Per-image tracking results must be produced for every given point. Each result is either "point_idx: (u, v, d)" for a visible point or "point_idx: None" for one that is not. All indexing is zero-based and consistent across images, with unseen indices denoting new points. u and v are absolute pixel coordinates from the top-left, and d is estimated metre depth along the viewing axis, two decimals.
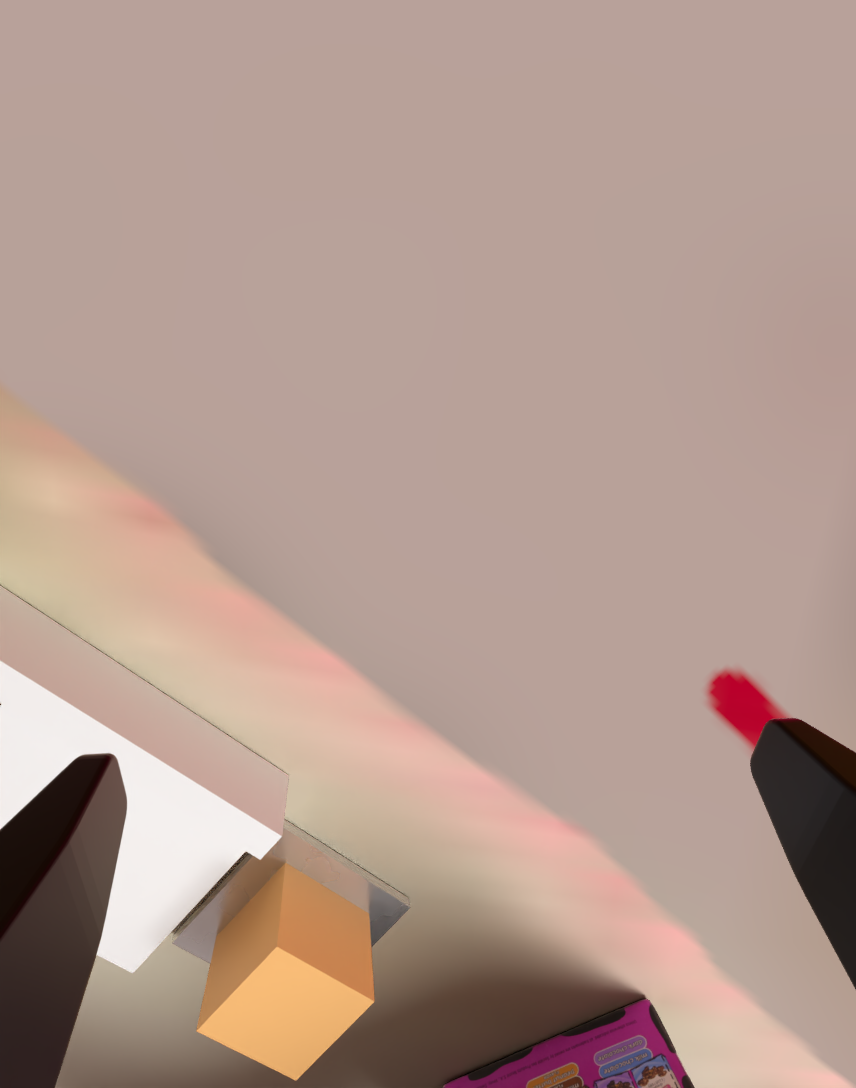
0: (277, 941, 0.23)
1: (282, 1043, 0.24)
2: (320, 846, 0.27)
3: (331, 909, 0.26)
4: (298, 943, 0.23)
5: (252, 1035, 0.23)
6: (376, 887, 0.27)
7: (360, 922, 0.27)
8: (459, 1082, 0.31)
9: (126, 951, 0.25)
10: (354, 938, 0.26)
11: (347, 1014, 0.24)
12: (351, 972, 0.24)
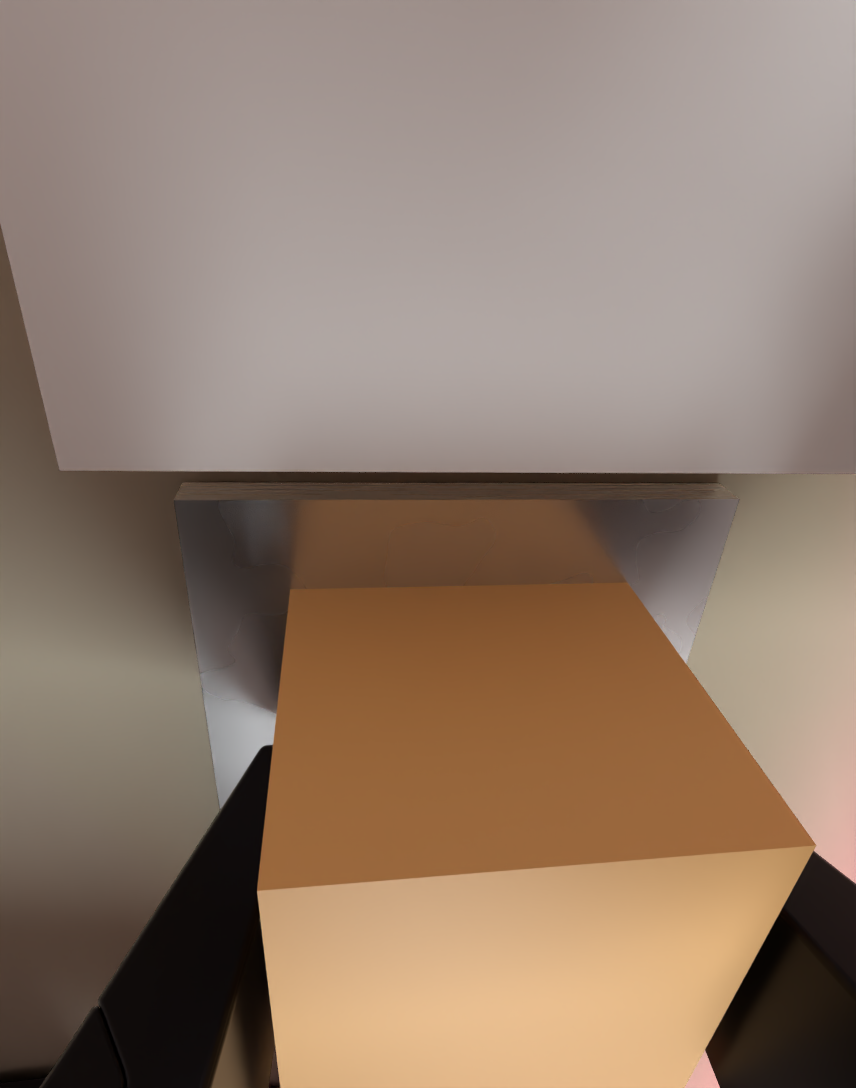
0: None
1: (401, 1064, 0.06)
2: (692, 616, 0.10)
3: None
4: None
5: (374, 1005, 0.06)
6: None
7: None
8: None
9: (135, 380, 0.05)
10: None
11: None
12: None
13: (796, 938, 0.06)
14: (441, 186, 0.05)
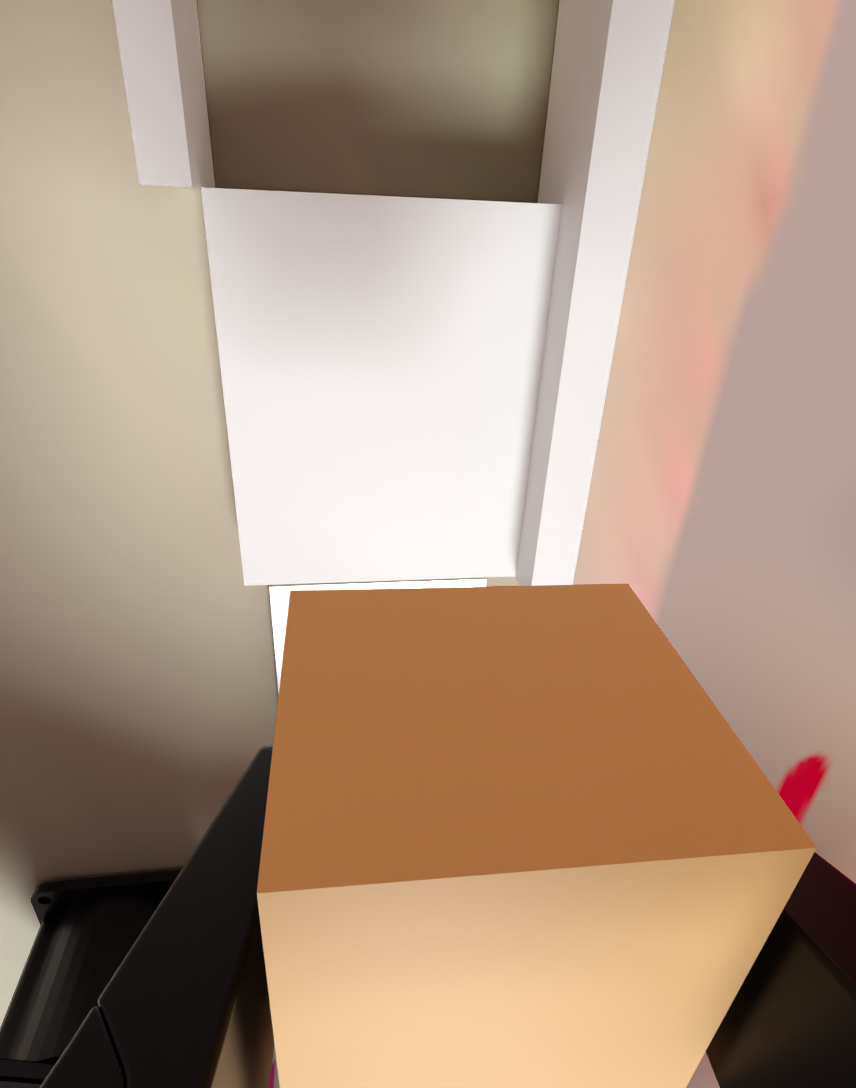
0: None
1: (400, 1066, 0.06)
2: None
3: None
4: None
5: (374, 1007, 0.06)
6: None
7: None
8: None
9: (268, 560, 0.18)
10: None
11: None
12: None
13: (796, 938, 0.06)
14: (354, 510, 0.18)
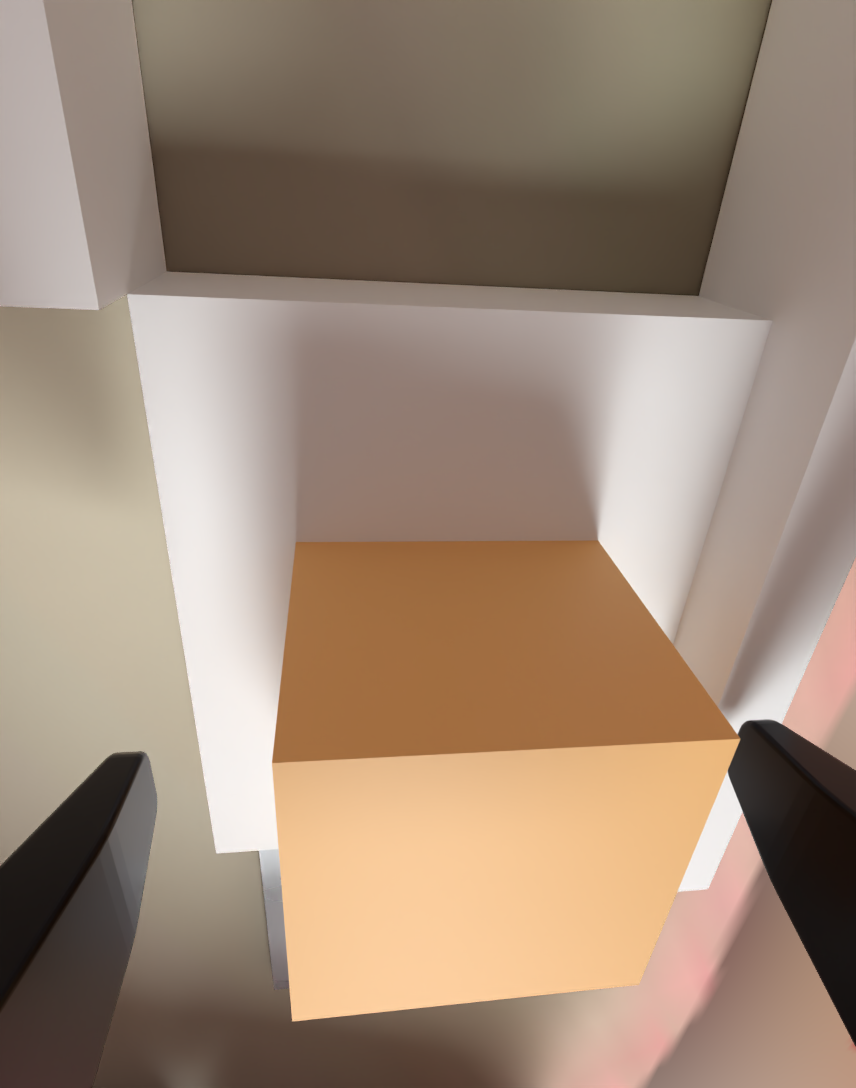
0: (729, 723, 0.07)
1: (391, 940, 0.07)
2: None
3: None
4: None
5: (369, 880, 0.07)
6: None
7: None
8: None
9: (253, 822, 0.12)
10: None
11: (570, 975, 0.08)
12: None
13: None
14: None
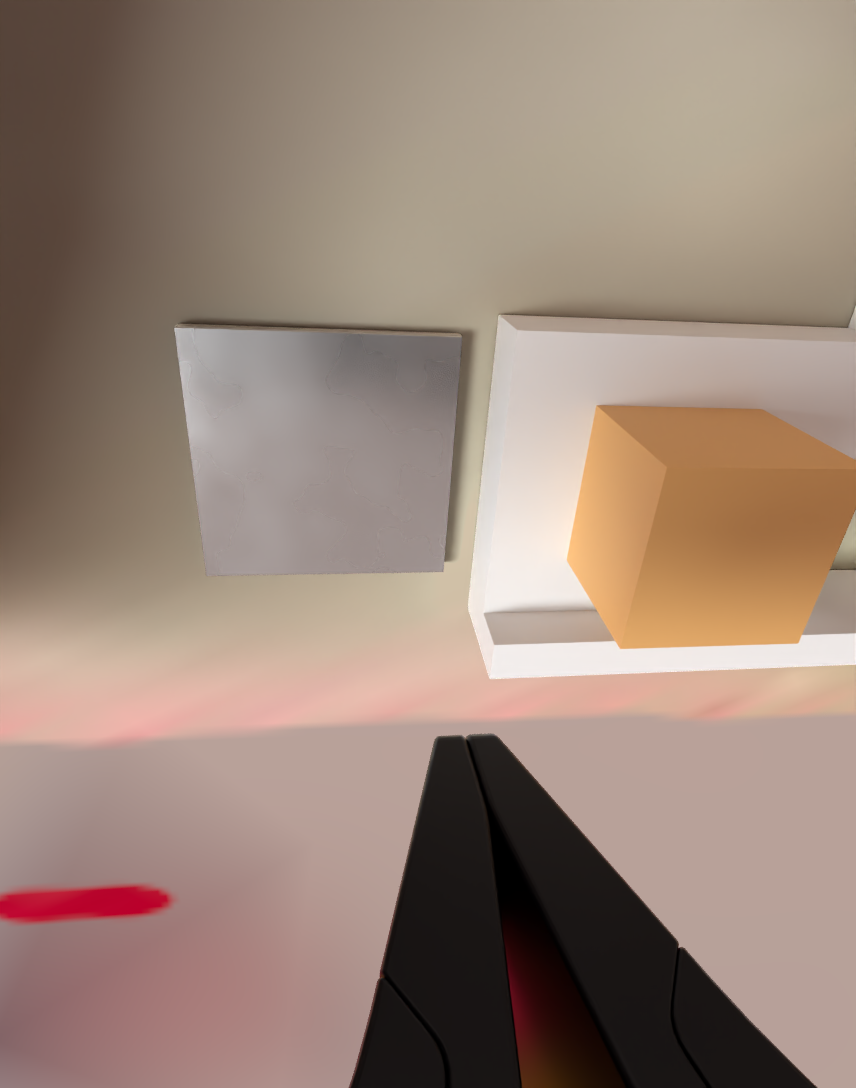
0: (792, 637, 0.16)
1: (724, 520, 0.13)
2: (377, 569, 0.20)
3: None
4: None
5: (779, 508, 0.13)
6: (271, 571, 0.19)
7: None
8: None
9: (545, 363, 0.15)
10: None
11: (646, 612, 0.14)
12: None
13: (563, 962, 0.06)
14: None
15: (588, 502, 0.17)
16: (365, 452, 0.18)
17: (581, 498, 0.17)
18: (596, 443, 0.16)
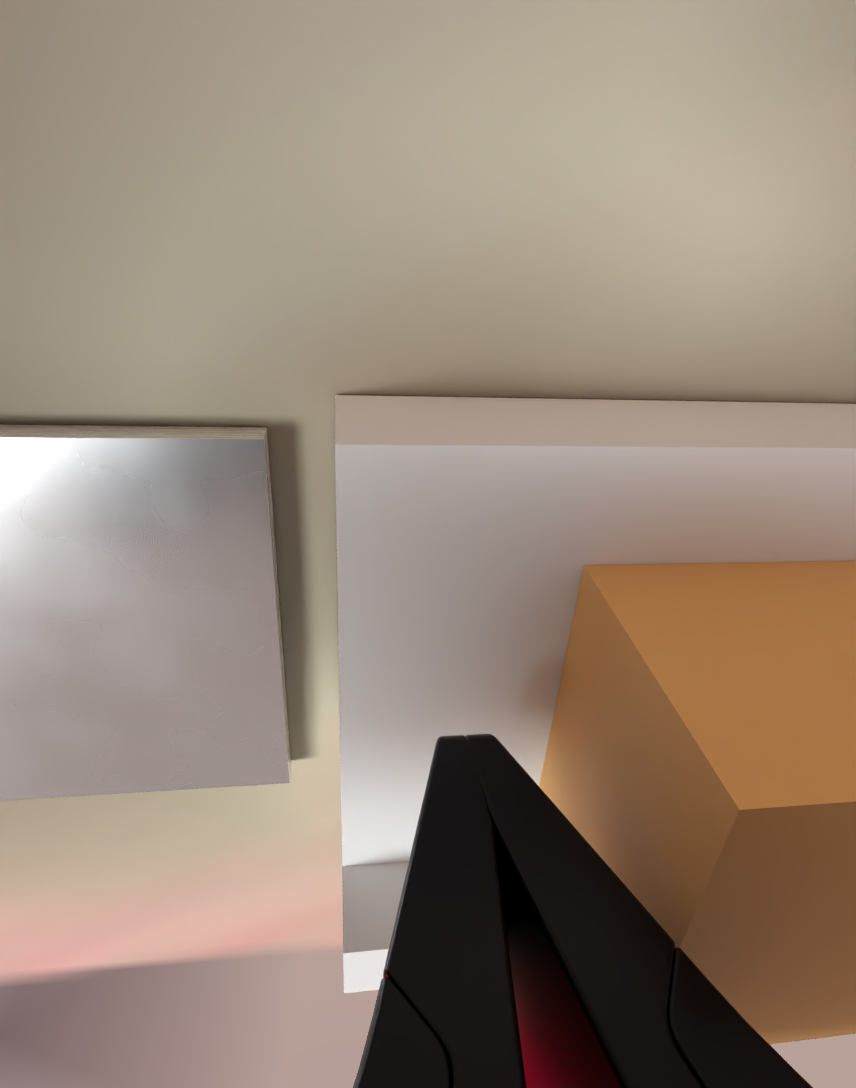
0: None
1: (853, 879, 0.06)
2: (183, 780, 0.12)
3: None
4: None
5: None
6: (1, 794, 0.12)
7: None
8: None
9: (400, 501, 0.08)
10: None
11: None
12: None
13: (560, 962, 0.06)
14: (497, 648, 0.10)
15: (572, 726, 0.10)
16: (122, 624, 0.10)
17: (560, 708, 0.10)
18: (584, 634, 0.09)
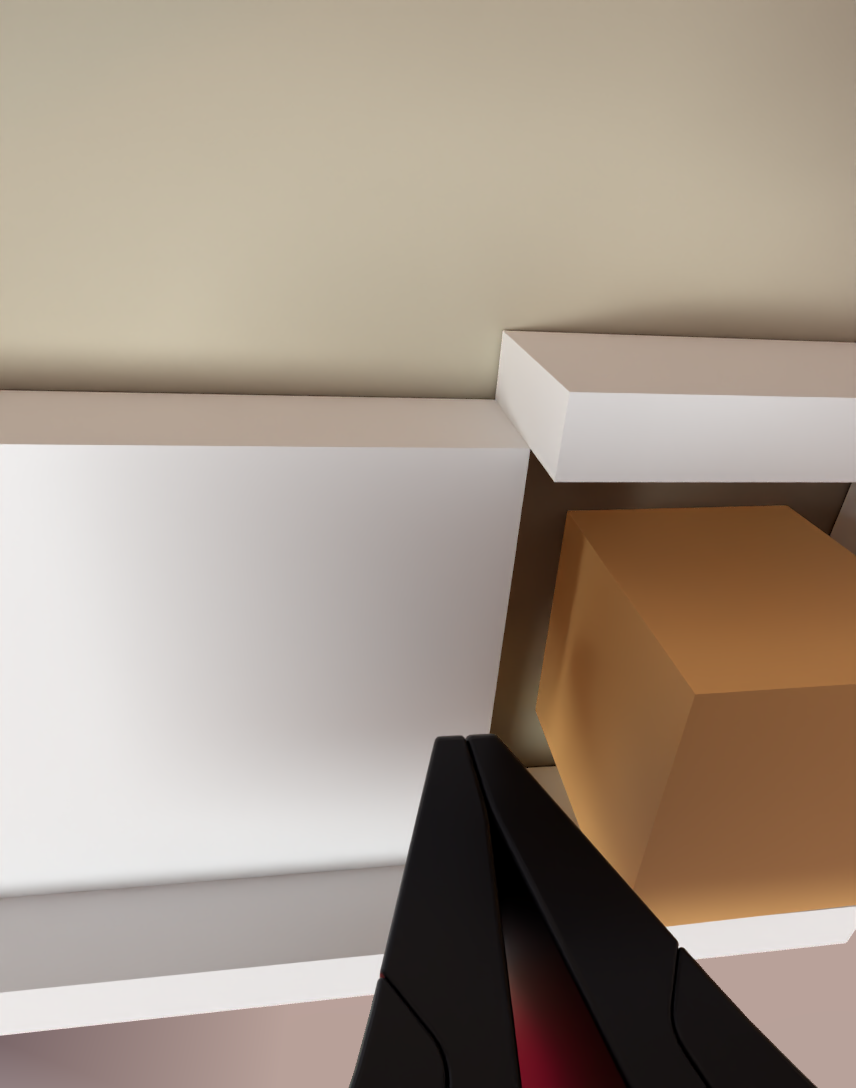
0: None
1: None
2: None
3: None
4: None
5: None
6: None
7: None
8: None
9: None
10: None
11: None
12: None
13: (563, 962, 0.06)
14: None
15: (701, 830, 0.08)
16: None
17: (662, 839, 0.08)
18: (715, 746, 0.07)
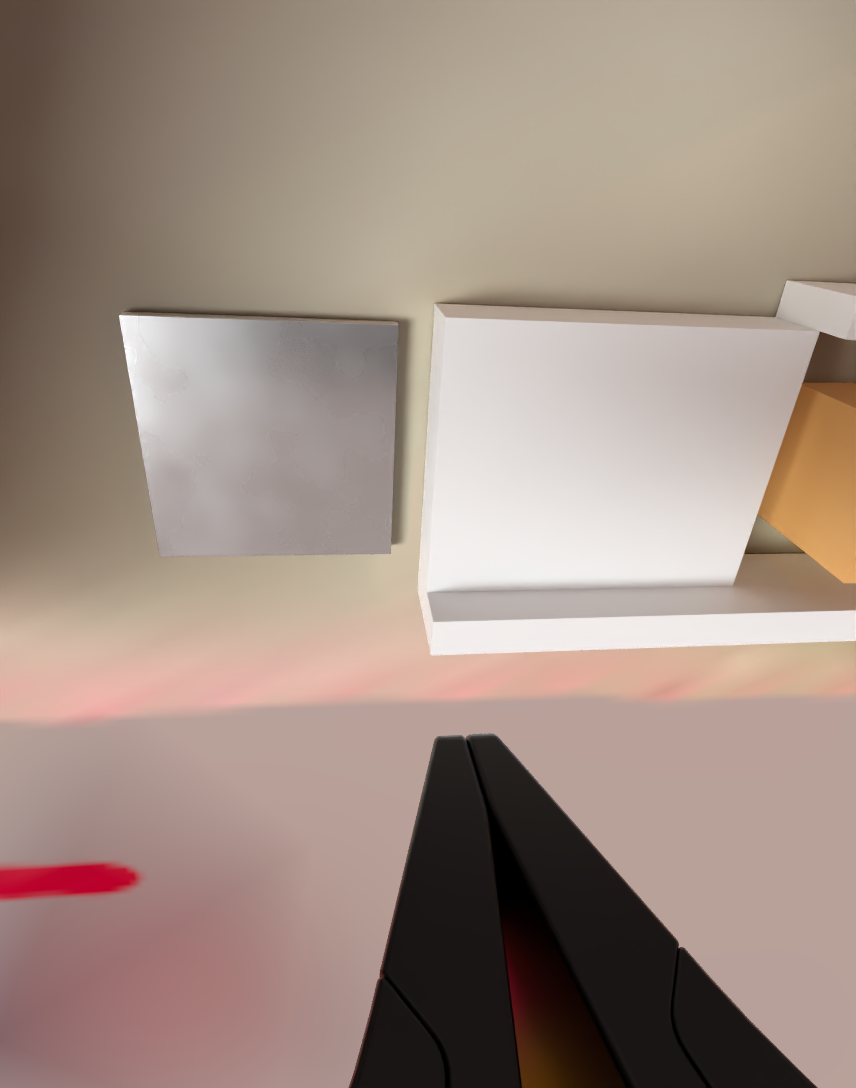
0: None
1: None
2: (326, 551, 0.20)
3: None
4: None
5: None
6: (222, 552, 0.20)
7: None
8: None
9: (474, 349, 0.16)
10: None
11: None
12: None
13: (563, 962, 0.06)
14: (521, 442, 0.18)
15: None
16: (309, 436, 0.18)
17: None
18: None
